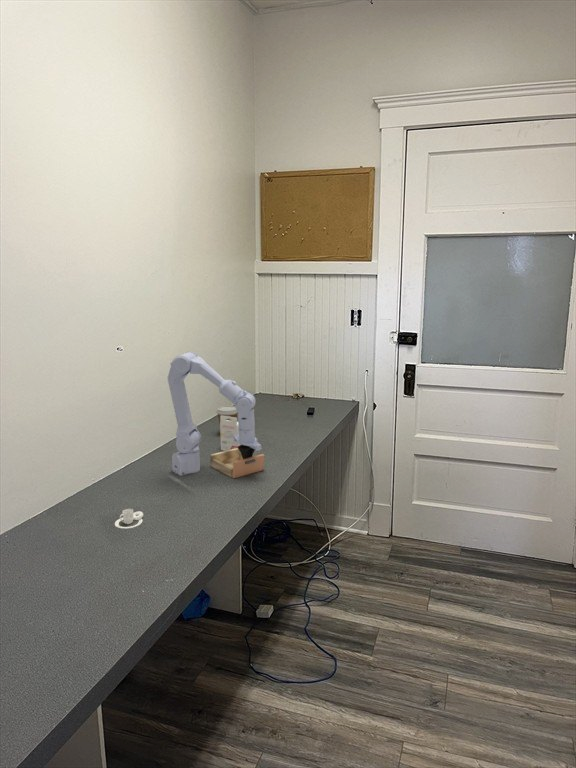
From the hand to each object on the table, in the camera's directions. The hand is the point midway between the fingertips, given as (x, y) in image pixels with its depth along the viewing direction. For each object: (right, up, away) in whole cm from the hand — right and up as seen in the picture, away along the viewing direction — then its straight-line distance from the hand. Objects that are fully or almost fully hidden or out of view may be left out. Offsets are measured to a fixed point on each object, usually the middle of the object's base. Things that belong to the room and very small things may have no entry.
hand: (247, 465), depth 199 cm
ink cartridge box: (-8, +2, +30) cm, 31 cm away
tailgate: (0, -3, 0) cm, 3 cm away
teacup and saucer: (-30, -13, -33) cm, 46 cm away
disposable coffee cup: (-12, +6, +51) cm, 53 cm away
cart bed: (-5, -3, +7) cm, 9 cm away
